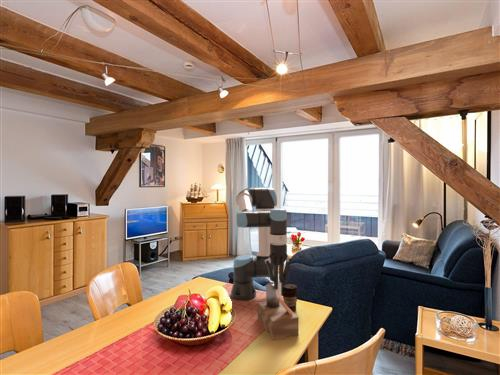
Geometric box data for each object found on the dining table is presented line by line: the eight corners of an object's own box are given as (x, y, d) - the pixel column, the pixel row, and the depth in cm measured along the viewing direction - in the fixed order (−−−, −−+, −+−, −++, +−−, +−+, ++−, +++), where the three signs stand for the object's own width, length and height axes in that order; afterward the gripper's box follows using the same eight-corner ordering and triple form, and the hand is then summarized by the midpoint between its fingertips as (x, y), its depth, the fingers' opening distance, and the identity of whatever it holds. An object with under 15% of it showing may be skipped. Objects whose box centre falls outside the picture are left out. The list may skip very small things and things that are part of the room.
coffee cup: (299, 314, 142) (299, 289, 142) (283, 314, 142) (283, 289, 142) (297, 306, 151) (296, 283, 150) (281, 306, 151) (281, 283, 151)
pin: (264, 313, 137) (264, 282, 137) (276, 311, 139) (276, 281, 139) (269, 319, 131) (269, 287, 131) (281, 317, 133) (281, 286, 133)
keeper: (276, 296, 126) (277, 295, 127) (286, 311, 128) (288, 309, 128) (280, 300, 122) (282, 299, 122) (291, 315, 123) (293, 314, 124)
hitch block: (258, 318, 138) (257, 302, 138) (280, 314, 141) (280, 299, 141) (273, 340, 119) (273, 321, 119) (298, 335, 122) (298, 317, 122)
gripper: (267, 246, 118) (268, 301, 119) (295, 244, 122) (295, 297, 122) (261, 242, 125) (262, 294, 126) (288, 240, 129) (288, 291, 130)
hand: (278, 296), depth 124 cm, fingers closed
